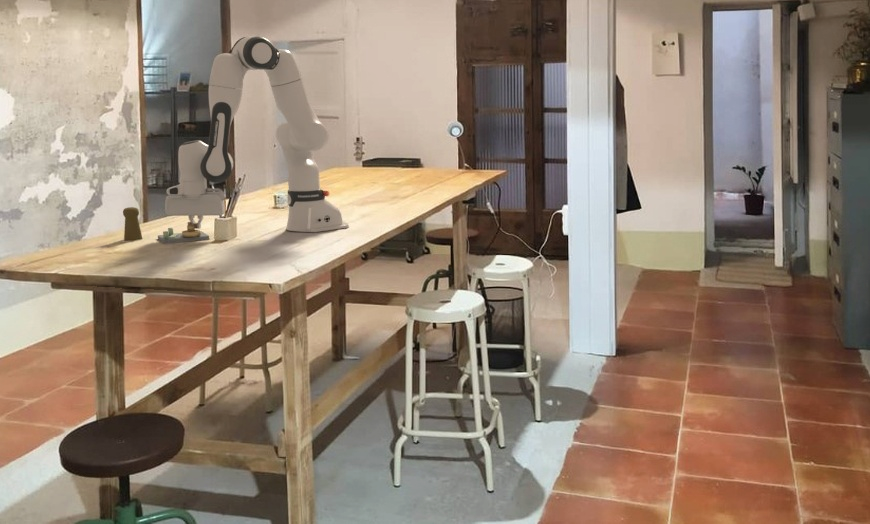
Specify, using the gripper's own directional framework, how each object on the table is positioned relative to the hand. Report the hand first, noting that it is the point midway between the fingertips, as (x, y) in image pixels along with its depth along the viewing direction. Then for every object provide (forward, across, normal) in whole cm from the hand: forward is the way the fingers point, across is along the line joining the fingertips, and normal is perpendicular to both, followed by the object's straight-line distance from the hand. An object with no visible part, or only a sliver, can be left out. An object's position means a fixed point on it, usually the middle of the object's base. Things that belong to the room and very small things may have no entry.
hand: (196, 228), depth 307 cm
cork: (+3, +22, +3) cm, 22 cm away
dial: (+2, +1, +3) cm, 3 cm away
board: (+3, +4, +3) cm, 6 cm away
